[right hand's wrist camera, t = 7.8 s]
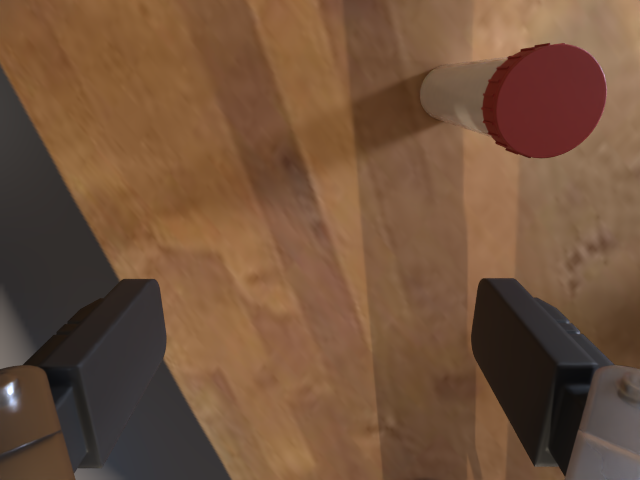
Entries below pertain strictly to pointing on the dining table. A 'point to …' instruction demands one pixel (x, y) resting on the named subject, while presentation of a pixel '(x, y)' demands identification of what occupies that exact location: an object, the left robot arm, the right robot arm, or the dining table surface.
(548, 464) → the right robot arm
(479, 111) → the jar
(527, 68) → the lid
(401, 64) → the dining table surface
